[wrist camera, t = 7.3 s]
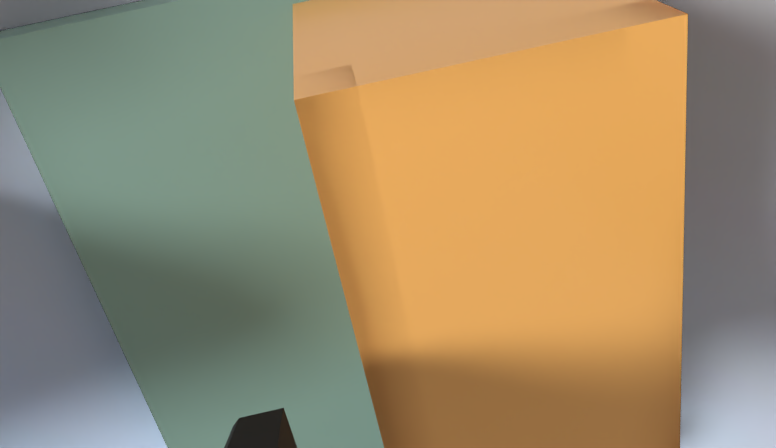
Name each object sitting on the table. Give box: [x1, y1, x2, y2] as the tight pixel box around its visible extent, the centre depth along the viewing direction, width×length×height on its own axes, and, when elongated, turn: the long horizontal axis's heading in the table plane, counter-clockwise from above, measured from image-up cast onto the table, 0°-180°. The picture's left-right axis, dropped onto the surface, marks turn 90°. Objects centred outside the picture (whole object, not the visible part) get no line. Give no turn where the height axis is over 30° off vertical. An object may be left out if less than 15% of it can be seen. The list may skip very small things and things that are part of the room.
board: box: [0, 0, 384, 448], centre depth 19 cm, size 20×13×1 cm, turn 11°
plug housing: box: [293, 0, 688, 448], centre depth 14 cm, size 12×5×6 cm, turn 11°
